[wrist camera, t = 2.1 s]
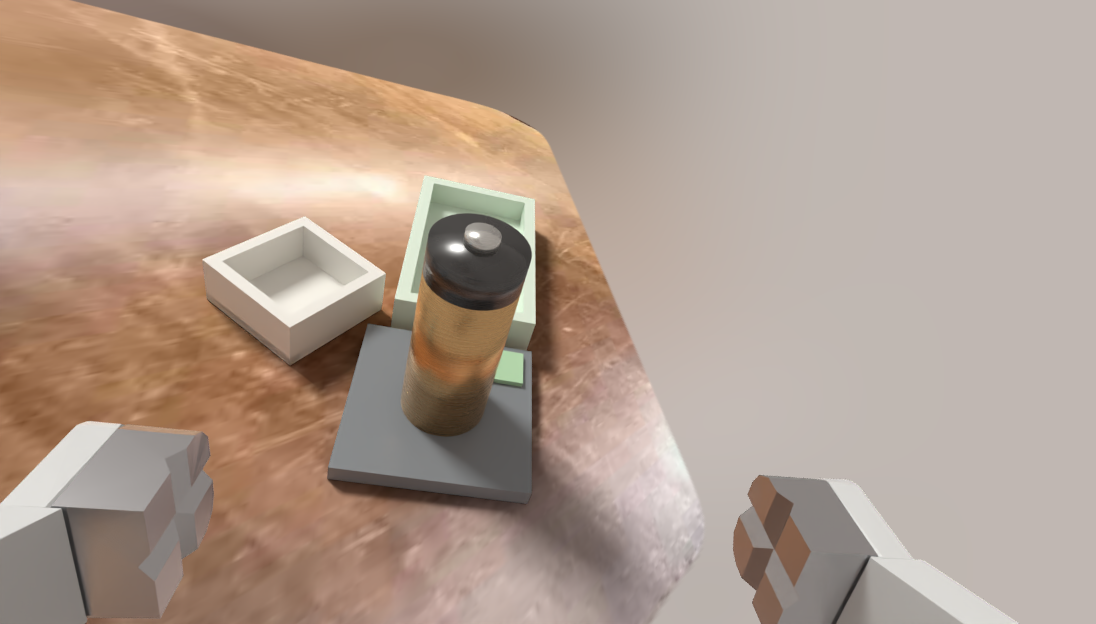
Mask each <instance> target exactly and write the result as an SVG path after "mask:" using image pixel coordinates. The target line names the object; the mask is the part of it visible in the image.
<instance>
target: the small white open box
mask: <svg viewBox="0 0 1096 624" xmlns="http://www.w3.org/2000/svg"><path fill="white" fill-rule="evenodd" d="M202 262H203V270H204V278H205V286H206V295H207V299H208V300H209V301H210V302H211V303H212V304H214V305H215V306H216V307H217V308H219V309H220V310H221V311H222V312H224V313H225V314H226V315H227V316H229V317H230V318H231V319H232V320H234V321H235V322H236V323H237V324H239V325H240V326H241V327H242V328H244V329H245V330H246V331H247V332H249V333H250V334H251V335H252V336H254V337H255V338H256V339H257V340H259V341H260V342H261V343H262V344H264V345H265V346H266V347H267V348H269V349H270V350H271V351H272V352H274V353H275V354H276V355H277V356H279V357H280V358H281V359H282V360H284V361H285V362H286V363H287V364H289V365H292V364H293V363H295V362H297V361H298V360H300V359H301V358H303V357H305V356H306V355H308V354H310V353H311V352H313V351H314V350H316V349H318V348H319V347H321V346H323V345H324V344H326V343H327V342H329V341H331V340H332V339H334V338H336V337H337V336H339V335H341V334H342V333H344V332H345V331H347V330H349V329H350V328H352V327H354V326H355V325H357V324H358V323H360V322H362V321H363V320H365V319H367V318H368V317H370V316H371V315H373V314H375V313H376V312H378V311H380V310H381V309H382V301H383V293H384V285H385V277H386V273H385V272H383V271H382V270H380V269H379V268H377V267H376V266H375V265H373V264H372V263H370V262H369V261H368V260H366V259H365V258H363V257H362V256H360V255H359V254H358V253H356V252H355V251H353V250H352V249H350V248H349V247H348V246H346V245H345V244H343V243H342V242H340V241H339V240H338V239H336V238H335V237H333V236H332V235H331V234H329V233H328V232H326V231H325V230H323V229H322V228H321V227H319V226H318V225H316V224H315V223H313V222H312V221H311V220H309V219H308V218H306V217H305V216H304V217H302V218H300V219H297V220H295V221H292V222H290V223H288V224H285V225H283V226H281V227H278V228H276V229H274V230H271V231H269V232H266V233H264V234H262V235H259V236H257V237H255V238H252V239H250V240H247V241H245V242H243V243H240V244H238V245H236V246H233V247H231V248H228V249H226V250H224V251H221V252H219V253H217V254H214V255H212V256H209V257H207V258H205V259H202Z"/></svg>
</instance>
